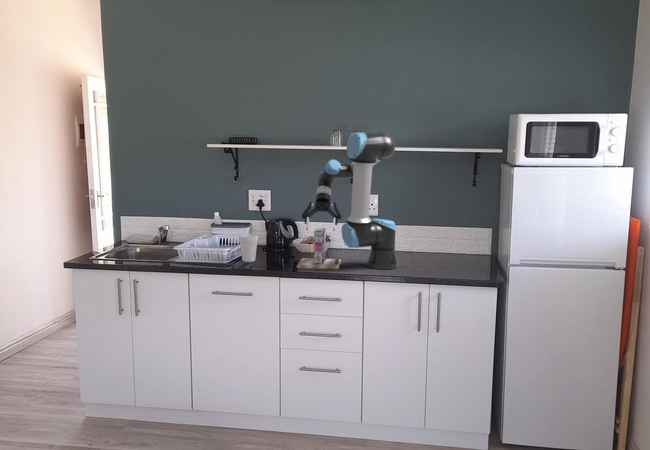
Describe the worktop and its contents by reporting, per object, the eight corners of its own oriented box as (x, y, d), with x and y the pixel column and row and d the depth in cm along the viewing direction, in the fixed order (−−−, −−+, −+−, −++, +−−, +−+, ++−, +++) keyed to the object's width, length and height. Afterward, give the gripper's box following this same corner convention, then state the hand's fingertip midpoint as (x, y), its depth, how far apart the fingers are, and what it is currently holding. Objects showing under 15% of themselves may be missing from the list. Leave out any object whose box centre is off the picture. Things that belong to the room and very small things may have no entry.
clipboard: (341, 261, 277) (341, 257, 276) (338, 269, 260) (338, 264, 260) (302, 260, 279) (302, 255, 278) (297, 268, 262) (297, 263, 262)
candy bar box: (323, 264, 263) (324, 231, 261) (313, 264, 264) (313, 230, 261) (326, 259, 274) (326, 227, 272) (316, 259, 275) (316, 227, 272)
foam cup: (248, 263, 271) (248, 237, 269) (235, 260, 277) (235, 235, 275) (261, 260, 279) (261, 235, 277) (249, 257, 284) (248, 233, 282)
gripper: (347, 201, 288) (345, 234, 275) (300, 200, 290) (296, 232, 278) (347, 192, 282) (344, 225, 269) (299, 191, 284) (295, 224, 272)
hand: (320, 229), depth 273 cm, fingers open, 13 cm apart
